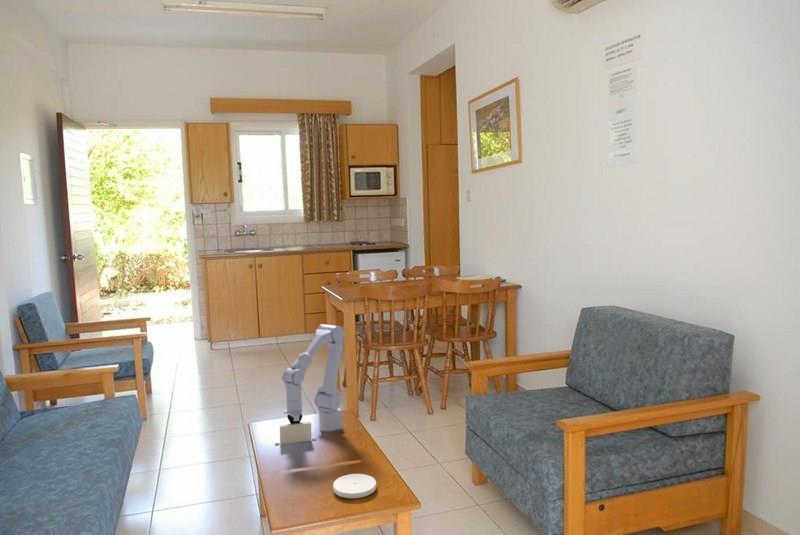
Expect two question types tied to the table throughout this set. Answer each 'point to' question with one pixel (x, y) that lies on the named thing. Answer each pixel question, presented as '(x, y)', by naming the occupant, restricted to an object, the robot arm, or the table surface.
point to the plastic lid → (354, 485)
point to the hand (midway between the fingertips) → (295, 432)
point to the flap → (295, 432)
